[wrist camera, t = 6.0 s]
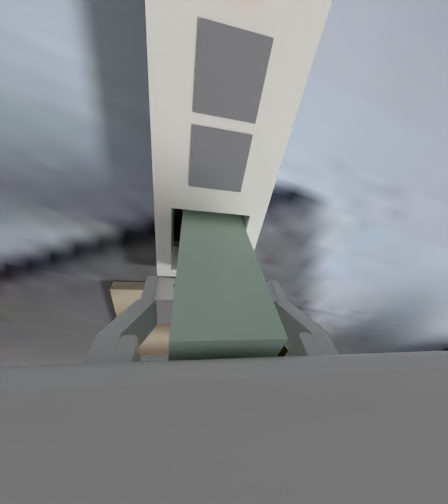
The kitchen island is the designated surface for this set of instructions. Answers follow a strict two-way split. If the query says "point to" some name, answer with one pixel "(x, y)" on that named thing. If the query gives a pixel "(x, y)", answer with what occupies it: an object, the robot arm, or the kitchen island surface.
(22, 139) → the kitchen island surface
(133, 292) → the coaster
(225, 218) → the grey-green tall block
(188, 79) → the power strip
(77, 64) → the kitchen island surface
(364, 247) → the kitchen island surface
